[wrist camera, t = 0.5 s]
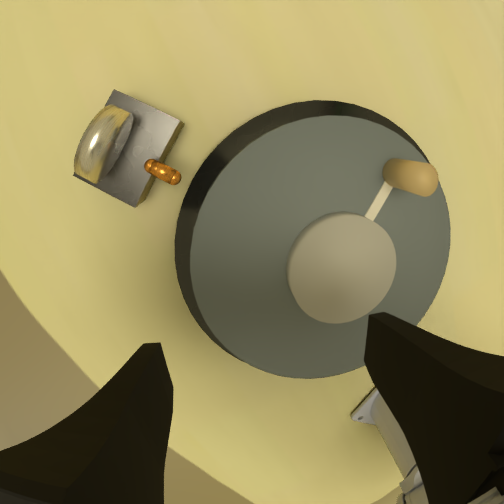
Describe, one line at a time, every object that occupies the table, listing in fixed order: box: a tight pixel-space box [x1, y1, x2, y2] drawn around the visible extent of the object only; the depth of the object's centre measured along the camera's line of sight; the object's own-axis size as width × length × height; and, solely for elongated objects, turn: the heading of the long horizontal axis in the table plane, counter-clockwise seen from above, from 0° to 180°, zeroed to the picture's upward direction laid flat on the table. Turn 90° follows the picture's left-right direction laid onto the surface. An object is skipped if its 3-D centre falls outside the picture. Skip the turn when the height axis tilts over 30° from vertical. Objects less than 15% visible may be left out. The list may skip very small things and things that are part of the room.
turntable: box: [190, 115, 450, 379], centre depth 17 cm, size 16×16×4 cm
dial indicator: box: [73, 89, 184, 208], centre depth 15 cm, size 6×5×6 cm
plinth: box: [175, 100, 430, 362], centre depth 20 cm, size 18×18×2 cm
